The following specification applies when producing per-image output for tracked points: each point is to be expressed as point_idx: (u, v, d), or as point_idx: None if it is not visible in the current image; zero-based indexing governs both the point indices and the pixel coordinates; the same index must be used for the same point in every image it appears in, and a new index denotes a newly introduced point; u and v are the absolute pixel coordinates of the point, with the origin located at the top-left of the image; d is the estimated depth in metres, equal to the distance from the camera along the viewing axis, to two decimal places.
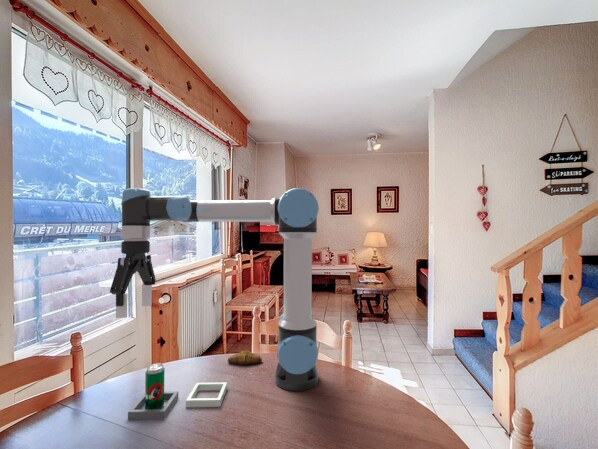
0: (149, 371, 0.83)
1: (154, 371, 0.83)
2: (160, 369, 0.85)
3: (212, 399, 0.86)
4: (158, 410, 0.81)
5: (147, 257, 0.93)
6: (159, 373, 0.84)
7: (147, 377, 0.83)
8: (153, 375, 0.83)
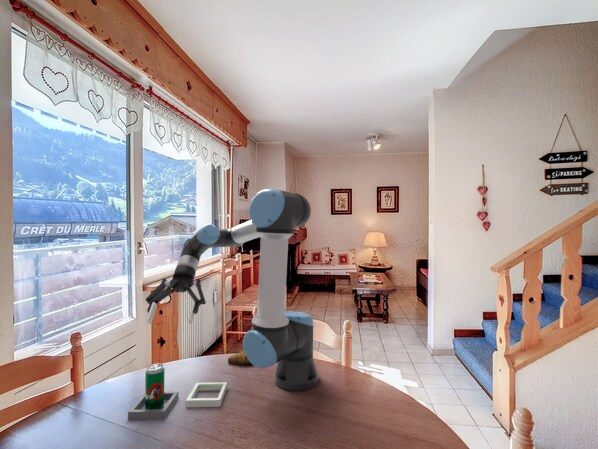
0: (149, 371, 0.83)
1: (154, 371, 0.83)
2: (160, 369, 0.85)
3: (212, 399, 0.86)
4: (158, 410, 0.81)
5: (196, 281, 1.08)
6: (159, 373, 0.84)
7: (147, 377, 0.83)
8: (153, 375, 0.83)
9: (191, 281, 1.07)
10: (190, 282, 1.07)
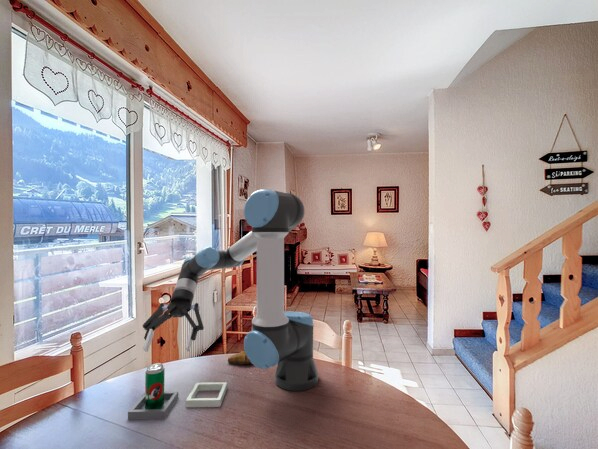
0: (149, 371, 0.83)
1: (154, 371, 0.83)
2: (160, 369, 0.85)
3: (212, 399, 0.86)
4: (158, 410, 0.81)
5: (194, 305, 1.06)
6: (159, 373, 0.84)
7: (147, 377, 0.83)
8: (153, 375, 0.83)
9: (189, 305, 1.05)
10: (188, 307, 1.05)
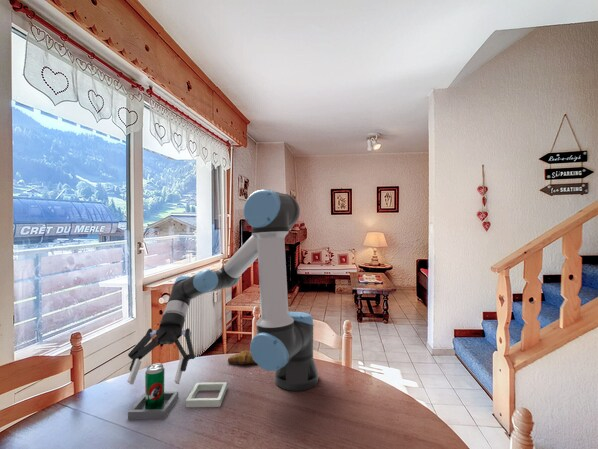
0: (149, 371, 0.83)
1: (154, 371, 0.83)
2: (160, 369, 0.85)
3: (212, 399, 0.86)
4: (158, 410, 0.81)
5: (185, 331, 0.97)
6: (159, 373, 0.84)
7: (147, 377, 0.83)
8: (153, 375, 0.83)
9: (179, 331, 0.97)
10: (178, 332, 0.97)
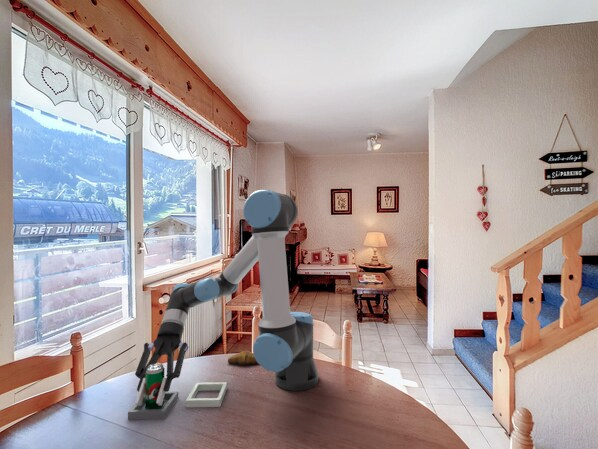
0: (149, 371, 0.83)
1: (154, 371, 0.83)
2: (160, 369, 0.85)
3: (212, 399, 0.86)
4: (158, 410, 0.81)
5: (183, 344, 0.93)
6: (159, 373, 0.84)
7: (147, 377, 0.83)
8: (153, 375, 0.83)
9: (177, 342, 0.93)
10: (176, 343, 0.93)
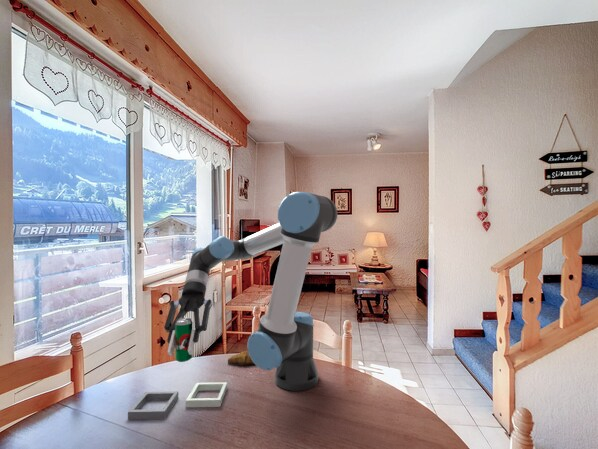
0: (179, 323, 0.87)
1: (183, 322, 0.87)
2: (189, 321, 0.88)
3: (212, 399, 0.86)
4: (158, 410, 0.81)
5: None
6: (188, 325, 0.88)
7: (177, 328, 0.87)
8: (183, 326, 0.87)
9: (202, 299, 0.97)
10: (200, 300, 0.97)
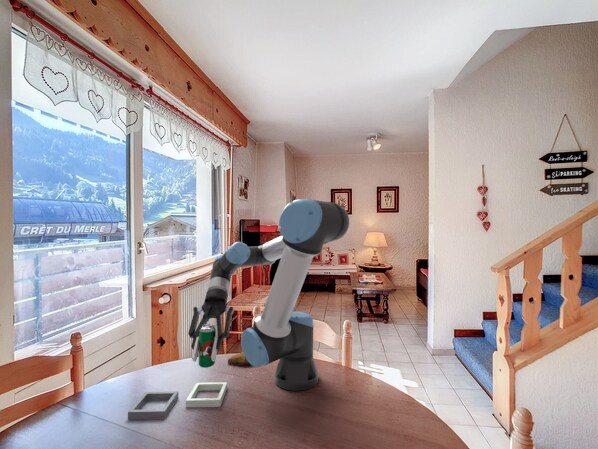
0: (203, 330, 0.90)
1: (207, 330, 0.90)
2: (212, 328, 0.91)
3: (212, 399, 0.86)
4: (158, 410, 0.81)
5: None
6: (212, 332, 0.90)
7: (201, 335, 0.89)
8: (207, 333, 0.89)
9: (224, 307, 0.99)
10: (223, 307, 0.99)
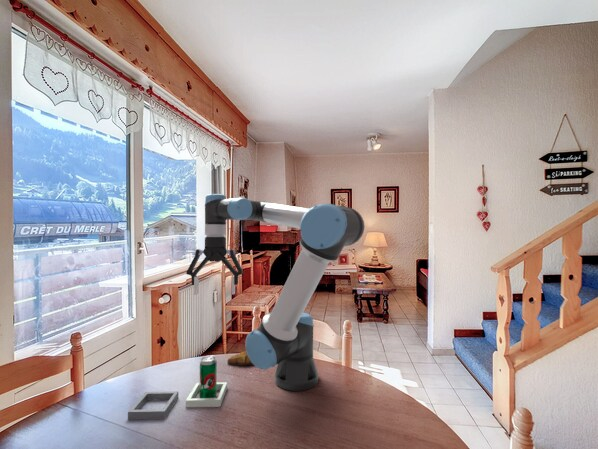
0: (204, 362, 0.89)
1: (208, 362, 0.89)
2: (213, 360, 0.90)
3: (212, 399, 0.86)
4: (158, 410, 0.81)
5: (230, 251, 1.07)
6: (213, 364, 0.90)
7: (202, 368, 0.89)
8: (208, 366, 0.89)
9: (224, 252, 1.07)
10: (224, 253, 1.07)
